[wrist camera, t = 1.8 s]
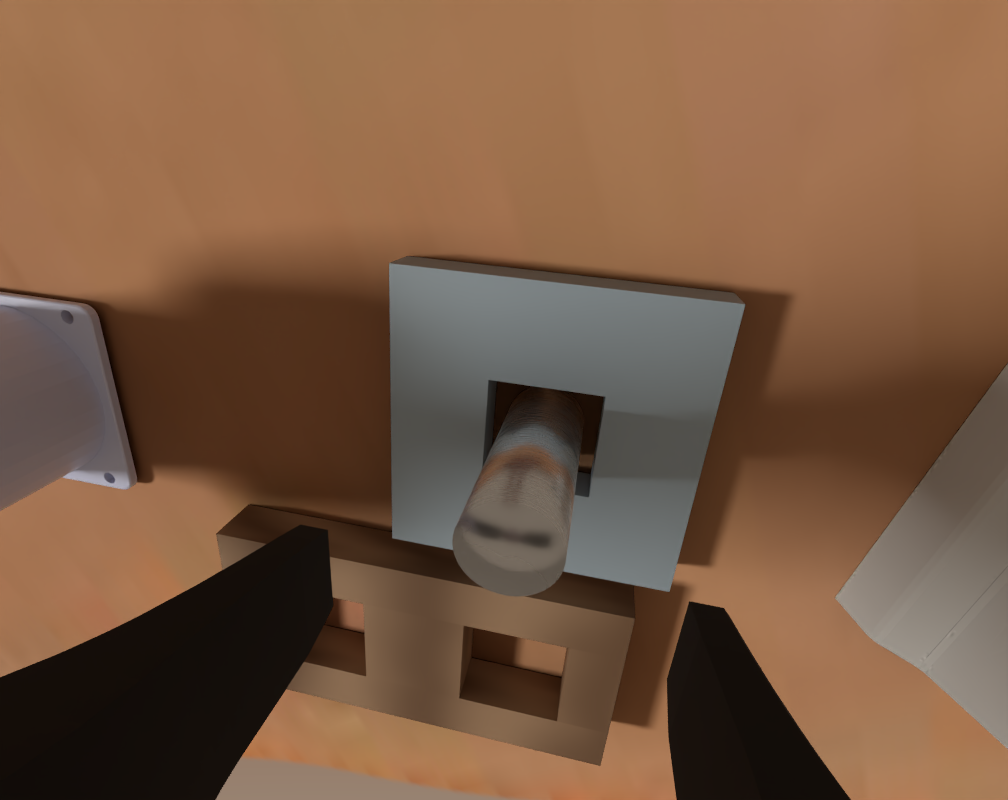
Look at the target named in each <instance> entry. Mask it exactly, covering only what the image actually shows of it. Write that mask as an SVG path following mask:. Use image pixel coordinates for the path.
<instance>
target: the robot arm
mask: <svg viewBox="0 0 1008 800" xmlns="http://www.w3.org/2000/svg"><path fill="white" fill-rule="evenodd" d="M71 314H72V315H71ZM72 316H73V317H72ZM61 477H62V478H68V479H73V480H78V481H83V482H88V483H93V484H98V485H103V486H109V487H114V488H119V489H129V488H130V487H132V486H134V485H135V484H136V482H137V475H136V471H135V467H134V463H133V459H132V454H131V450H130V446H129V442H128V438H127V433H126V429H125V425H124V421H123V417H122V413H121V408H120V404H119V400H118V396H117V392H116V387H115V383H114V379H113V375H112V371H111V366H110V362H109V358H108V354H107V350H106V345H105V341H104V337H103V333H102V329H101V324H100V320H99V317H98V314H97V312H96V311H95V310H94V309H93V308H92V307H91V306H89V305H87V304H84V303H78V302H71V301H63V300H56V299H49V298H42V297H35V296H27V295H20V294H13V293H6V292H0V511H1V510H3V509H5V508H7V507H8V506H10V505H12V504H14V503H16V502H18V501H19V500H21V499H23V498H25V497H27V496H29V495H30V494H32V493H34V492H36V491H38V490H39V489H41V488H43V487H45V486H47V485H49V484H50V483H52V482H54V481H56V480H58V479H59V478H61ZM332 607H333V595H332V581H331V567H330V553H329V539H328V530H326V529H321V528H316V527H311V526H306V525H299V526H297V527H295V528H293V529H291V530H290V531H288V532H286V533H284V534H283V535H281V536H279V537H278V538H276V539H274V540H273V541H271V542H269V543H268V544H266V545H264V546H262V547H261V548H259V549H257V550H256V551H254V552H252V553H251V554H249V555H247V556H246V557H244V558H242V559H241V560H239V561H237V562H236V563H234V564H232V565H230V566H229V567H227V568H225V569H224V570H222V571H220V572H218V573H217V574H215V575H213V576H212V577H210V578H208V579H207V580H205V581H203V582H201V583H200V584H198V585H196V586H194V587H192V588H190V589H189V590H187V591H185V592H183V593H181V594H179V595H177V596H176V597H174V598H172V599H170V600H168V601H166V602H164V603H163V604H161V605H159V606H157V607H155V608H153V609H151V610H150V611H148V612H146V613H144V614H142V615H140V616H138V617H136V618H134V619H132V620H130V621H128V622H126V623H124V624H122V625H120V626H118V627H116V628H114V629H112V630H110V631H108V632H106V633H104V634H101V635H99V636H97V637H95V638H93V639H90V640H88V641H86V642H84V643H82V644H79V645H77V646H75V647H73V648H71V649H69V650H66V651H64V652H62V653H59V654H57V655H55V656H52V657H50V658H47V659H45V660H42V661H40V662H37V663H35V664H32V665H30V666H27V667H25V668H22V669H20V670H17V671H15V672H12V673H10V674H7V675H5V676H2V677H0V800H215V799H216V798H217V796H218V794H219V792H220V790H221V789H222V787H223V785H224V784H225V782H226V780H227V779H228V777H229V776H230V774H231V772H232V770H233V769H234V767H235V766H236V764H237V762H238V761H239V759H240V758H241V756H242V755H243V753H244V752H245V750H246V749H247V747H248V746H249V744H250V743H251V741H252V740H253V738H254V737H255V735H256V734H257V732H258V731H259V729H260V728H261V726H262V725H263V723H264V722H265V720H266V719H267V717H268V716H269V714H270V713H271V711H272V710H273V708H274V707H275V705H276V704H277V702H278V701H279V699H280V698H281V696H282V695H283V693H284V692H285V690H286V689H287V687H288V685H289V684H290V682H291V681H292V679H293V678H294V676H295V675H296V673H297V672H298V670H299V669H300V667H301V666H302V664H303V662H304V661H305V659H306V658H307V656H308V655H309V653H310V651H311V649H312V647H313V645H314V643H315V642H316V640H317V638H318V636H319V634H320V632H321V630H322V628H323V626H324V624H325V622H326V620H327V617H328V615H329V613H330V611H331V609H332ZM667 699H668V733H669V744H670V752H671V760H672V767H673V775H674V783H675V790H676V797H677V800H851V799H850V798H849V797H848V795H847V794H846V793H845V791H844V790H843V789H842V787H841V786H840V784H839V783H838V782H837V780H836V779H835V778H834V776H833V775H832V773H831V772H830V771H829V769H828V768H827V767H826V765H825V764H824V762H823V761H822V760H821V758H820V757H819V756H818V754H817V753H816V751H815V750H814V748H813V747H812V745H811V744H810V743H809V741H808V740H807V738H806V737H805V735H804V734H803V733H802V731H801V730H800V728H799V727H798V725H797V724H796V722H795V721H794V719H793V718H792V716H791V714H790V713H789V711H788V710H787V708H786V707H785V705H784V704H783V702H782V701H781V699H780V698H779V696H778V695H777V693H776V692H775V690H774V689H773V687H772V686H771V684H770V682H769V681H768V679H767V678H766V676H765V674H764V673H763V671H762V670H761V668H760V666H759V665H758V663H757V661H756V660H755V658H754V657H753V655H752V653H751V652H750V650H749V648H748V647H747V645H746V643H745V642H744V640H743V638H742V637H741V635H740V633H739V632H738V630H737V628H736V627H735V625H734V623H733V622H732V620H731V618H730V616H729V615H728V613H727V612H726V611H725V609H724V608H720V607H715V606H710V605H705V604H700V603H695V602H690V601H689V605H688V608H687V611H686V615H685V618H684V622H683V625H682V629H681V632H680V636H679V639H678V643H677V646H676V650H675V653H674V657H673V660H672V664H671V667H670V671H669V674H668V678H667Z"/></svg>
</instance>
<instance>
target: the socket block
mask: <svg viewBox="0 0 1008 800" xmlns="http://www.w3.org/2000/svg"><path fill="white" fill-rule="evenodd" d="M389 294H390V384H391V475H392V538H394V539H399V540H404V541H409V542H414V543H420V544H425V545H430V546H435V547H440V548H445V549H451V550H453V545H452V539H453V533H454V530H455V527H456V525H457V523H458V520H459V518H460V516H461V514H462V512H463V510H464V507H465V505H466V503H467V501H468V499H469V496H470V494H471V492H472V490H473V488H474V485H475V483H476V481H477V479H478V477H479V474H480V472H481V470H482V468H483V466H484V464H485V461H486V459H487V457H488V455H489V453H490V450H491V448H492V440H493V426H494V413H495V400H496V387H497V381H500V382H507V383H514V384H521V385H528V386H535V387H542V388H549V389H556V390H563V391H570V392H576V393H583V394H590V395H597V396H604V398H603V404H602V410H601V416H600V422H599V428H598V434H597V440H596V446H595V452H594V458H593V464H592V470H591V474H588V473H582V472H578V473H577V481H576V488H575V496H574V503H573V511H572V518H571V526H570V534H569V541H568V549H567V556H566V563H565V567H564V570H563V571H564V572H569V573H574V574H579V575H584V576H590V577H595V578H600V579H605V580H610V581H615V582H621V583H626V584H631V585H636V586H641V587H646V588H651V589H657V590H662V591H667V592H670V588H671V584H672V580H673V577H674V573H675V569H676V565H677V561H678V558H679V554H680V550H681V546H682V543H683V539H684V535H685V531H686V527H687V524H688V520H689V516H690V512H691V509H692V505H693V501H694V497H695V493H696V490H697V486H698V482H699V478H700V474H701V471H702V467H703V463H704V459H705V456H706V452H707V448H708V444H709V440H710V437H711V433H712V429H713V425H714V422H715V418H716V414H717V410H718V406H719V403H720V399H721V395H722V391H723V387H724V384H725V380H726V376H727V372H728V369H729V365H730V361H731V357H732V353H733V350H734V346H735V342H736V338H737V335H738V331H739V327H740V323H741V319H742V316H743V312H744V308H745V303H744V302H743V301H742V300H741V299H740V298H739V297H738V296H737V295H736V294H735V293H731V292H723V291H714V290H705V289H696V288H687V287H678V286H669V285H660V284H652V283H643V282H634V281H625V280H616V279H607V278H598V277H589V276H580V275H572V274H563V273H554V272H545V271H536V270H527V269H518V268H509V267H500V266H492V265H483V264H474V263H465V262H456V261H447V260H438V259H429V258H421V257H412V256H406V257H404V258H401V259H399V260H396V261H394V262H391V263H389Z"/></svg>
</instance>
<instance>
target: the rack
mask: <svg viewBox="0 0 1008 800" xmlns="http://www.w3.org/2000/svg"><path fill="white" fill-rule="evenodd" d="M299 525H306V526H311V527H316V528H321V529H326V530H328V539H329V553H330V567H331V581H332V595H333V598H338V599H342V600H347V601H352V602H356V603H361V604H363V606H364V630H365V634H362V633H358V632H353V631H349V630H344V629H340V628H335V627H331V626H327V625H324V626H323V628H322V630H321V632H320V634H319V636H318V638H317V640H316V642H315V643H314V645H313V647H312V649H311V651H310V653H309V655H308V656H307V658H306V659H305V661H304V662H303V664H302V666H301V667H300V669H299V670H298V672H297V673H296V675H295V676H294V678H293V679H292V681H291V682H290V684H289V685H288V687H287V689H288V690H292V691H296V692H301V693H305V694H309V695H313V696H317V697H321V698H325V699H329V700H333V701H337V702H341V703H345V704H350V705H354V706H358V707H362V708H366V709H370V710H374V711H378V712H382V713H386V714H390V715H394V716H399V717H403V718H407V719H411V720H415V721H419V722H423V723H427V724H431V725H435V726H439V727H443V728H448V729H452V730H456V731H460V732H464V733H468V734H472V735H476V736H480V737H484V738H488V739H492V740H497V741H501V742H505V743H509V744H513V745H517V746H521V747H525V748H529V749H533V750H537V751H541V752H546V753H550V754H554V755H558V756H562V757H566V758H570V759H574V760H578V761H582V762H586V763H590V764H595V765H599V766H600V765H601V761H602V757H603V752H604V748H605V744H606V740H607V735H608V731H609V727H610V723H611V718H612V714H613V710H614V706H615V702H616V697H617V693H618V689H619V685H620V680H621V676H622V672H623V668H624V664H625V659H626V655H627V651H628V647H629V642H630V638H631V634H632V630H633V625H634V621H635V605H634V585H631V584H626V583H621V582H615V581H610V580H605V579H600V578H595V577H590V576H584V575H579V574H574V573H569V572H564V571H563V572H562V574H561V576H560V577H559V579H558V580H557V581H556V582H555V583H554V584H553V585H552V586H550V587H549V588H547V589H546V590H544V591H542V592H540V593H537V594H533V595H529V596H506V595H501V594H498V593H495V592H492V591H489V590H487V589H485V588H483V587H481V586H480V585H478V584H477V583H475V582H474V581H473V580H471V579H470V578H469V577H468V576H467V575H466V574H465V572H464V571H463V570H462V569H461V567H460V566H459V564H458V562H457V560H456V558H455V555H454V552H453V550H451V549H445V548H440V547H435V546H430V545H425V544H420V543H414V542H409V541H404V540H399V539H394V538H392V532H388V531H383V530H378V529H372V528H367V527H362V526H357V525H352V524H346V523H341V522H336V521H331V520H326V519H320V518H315V517H310V516H305V515H300V514H294V513H289V512H284V511H279V510H274V509H268V508H263V507H258V506H253V505H248V506H246V507H245V508H244V509H243V510H242V511H241V512H240V513H239V514H238V515H236V516H235V517H234V518H233V519H232V520H231V521H230V522H229V523H228V524H226V525H225V526H224V527H223V528H222V529H221V530H220V531H219V532H218V533H216V535H217V541H218V547H219V552H220V558H221V564H222V569H223V570H224V569H225V568H227V567H229V566H230V565H232V564H234V563H236V562H237V561H239V560H241V559H242V558H244V557H246V556H247V555H249V554H251V553H252V552H254V551H256V550H257V549H259V548H261V547H262V546H264V545H266V544H268V543H269V542H271V541H273V540H274V539H276V538H278V537H279V536H281V535H283V534H284V533H286V532H288V531H290V530H291V529H293V528H295V527H297V526H299ZM473 628H477V629H482V630H487V631H491V632H496V633H501V634H505V635H510V636H515V637H519V638H524V639H529V640H533V641H538V642H543V643H547V644H552V645H557V646H561V647H566V648H567V650H566V656H565V662H564V668H563V673H562V678H559V677H555V676H550V675H546V674H541V673H537V672H532V671H528V670H524V669H519V668H515V667H510V666H506V665H501V664H497V663H492V662H488V661H483V660H479V659H474V658H471V655H472V641H473Z"/></svg>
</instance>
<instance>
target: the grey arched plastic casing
mask: <svg viewBox="0 0 1008 800" xmlns="http://www.w3.org/2000/svg"><path fill="white" fill-rule="evenodd" d="M835 598H836V600H837V601H838V602H839V603H840V604H841V605H842V607H843V608H844V609H845V610H846V611H847V612H848V614H849V615H850V616H851V617H852V618H853V619H854V620H855V622H856V623H857V624H858V625H859V626H860V627H861V629H862V630H863V631H864V632H865V633H866V634H867V635H868V636H869V637H870V638H871V639H872V640H873V641H875V642H876V643H878V644H879V645H881V646H883V647H884V648H886V649H888V650H889V651H891V652H893V653H894V654H896V655H898V656H899V657H901V658H903V659H904V660H906V661H908V662H909V663H911V664H913V665H914V666H916V667H917V668H919V669H920V670H921V671H923V672H924V673H925V674H926V675H927V676H928V677H929V678H931V679H932V680H933V681H934V682H935V683H936V684H937V685H938V686H939V687H940V688H942V689H943V690H944V691H945V692H946V693H947V694H948V695H949V696H950V697H951V698H952V699H954V700H955V701H956V702H957V703H958V704H959V705H960V706H961V707H962V708H963V709H965V710H966V711H967V712H968V713H969V714H970V715H971V716H972V717H973V718H974V719H975V720H977V721H978V722H979V723H980V724H981V725H982V726H983V727H984V728H985V729H986V730H988V731H989V732H990V733H991V734H992V735H993V736H994V737H995V738H996V739H997V740H998V741H1000V742H1001V743H1002V744H1003V745H1004V746H1005V747H1006V748H1007V749H1008V364H1007V365H1006V366H1005V368H1004V369H1003V370H1002V372H1001V373H1000V375H999V376H998V377H997V379H996V380H995V381H994V383H993V384H992V385H991V387H990V388H989V389H988V391H987V392H986V394H985V395H984V396H983V398H982V399H981V400H980V402H979V403H978V404H977V406H976V407H975V408H974V410H973V411H972V413H971V414H970V415H969V417H968V418H967V419H966V421H965V422H964V423H963V425H962V426H961V427H960V429H959V430H958V432H957V433H956V434H955V436H954V437H953V438H952V440H951V441H950V442H949V444H948V445H947V446H946V448H945V449H944V451H943V452H942V453H941V455H940V456H939V457H938V459H937V460H936V461H935V463H934V464H933V465H932V467H931V468H930V470H929V471H928V472H927V474H926V475H925V476H924V478H923V479H922V480H921V482H920V483H919V484H918V486H917V487H916V489H915V490H914V491H913V493H912V494H911V495H910V497H909V498H908V499H907V501H906V502H905V503H904V505H903V506H902V508H901V509H900V510H899V512H898V513H897V514H896V516H895V517H894V518H893V520H892V521H891V522H890V524H889V525H888V527H887V528H886V529H885V531H884V532H883V533H882V535H881V536H880V537H879V539H878V540H877V541H876V543H875V544H874V545H873V547H872V548H871V550H870V551H869V552H868V554H867V555H866V556H865V558H864V559H863V560H862V562H861V563H860V564H859V566H858V567H857V569H856V570H855V571H854V573H853V574H852V575H851V577H850V578H849V579H848V581H847V582H846V583H845V585H844V586H843V588H842V589H841V590H840V592H839V593H838V594H837V596H836V597H835Z"/></svg>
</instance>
